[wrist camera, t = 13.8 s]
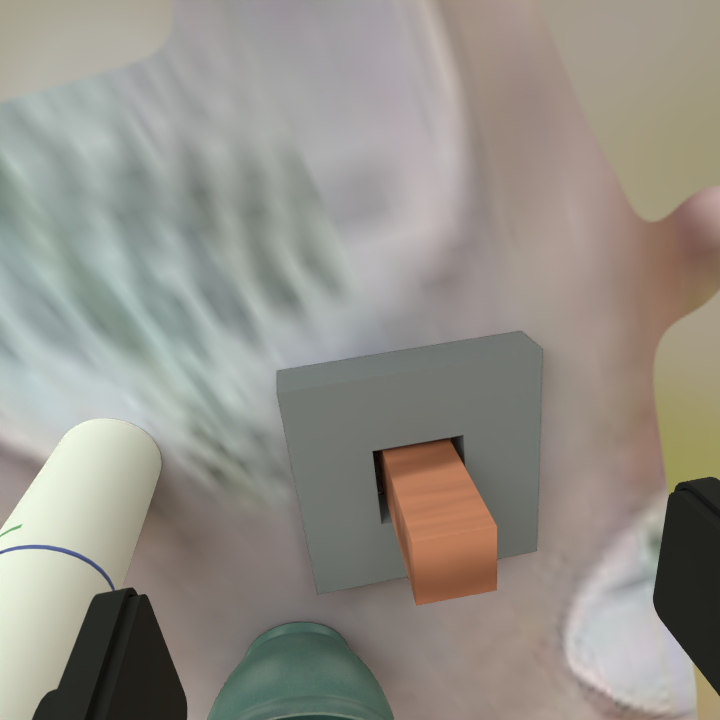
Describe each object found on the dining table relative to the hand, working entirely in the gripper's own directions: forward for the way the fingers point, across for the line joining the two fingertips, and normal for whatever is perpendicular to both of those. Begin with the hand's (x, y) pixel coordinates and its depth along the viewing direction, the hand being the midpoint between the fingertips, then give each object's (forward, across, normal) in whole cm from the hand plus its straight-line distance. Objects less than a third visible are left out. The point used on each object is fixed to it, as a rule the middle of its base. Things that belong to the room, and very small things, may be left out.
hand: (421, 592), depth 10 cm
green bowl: (+28, +7, +37) cm, 47 cm away
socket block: (+28, -5, +17) cm, 33 cm away
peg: (+28, -5, +17) cm, 33 cm away
